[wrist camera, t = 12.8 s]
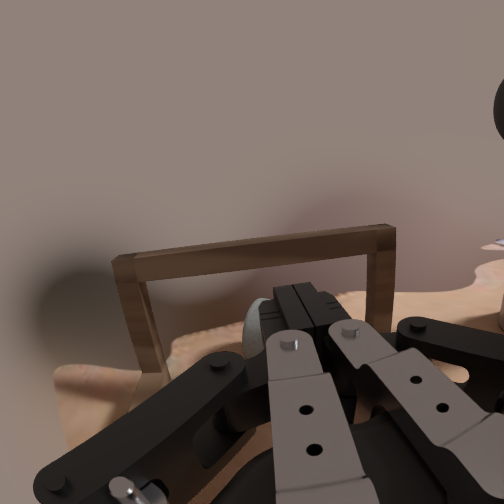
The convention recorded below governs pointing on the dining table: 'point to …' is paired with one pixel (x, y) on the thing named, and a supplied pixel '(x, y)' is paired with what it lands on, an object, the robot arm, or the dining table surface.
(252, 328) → the ceramic mug
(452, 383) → the robot arm
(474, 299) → the dining table surface
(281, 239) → the wooden arch frame
